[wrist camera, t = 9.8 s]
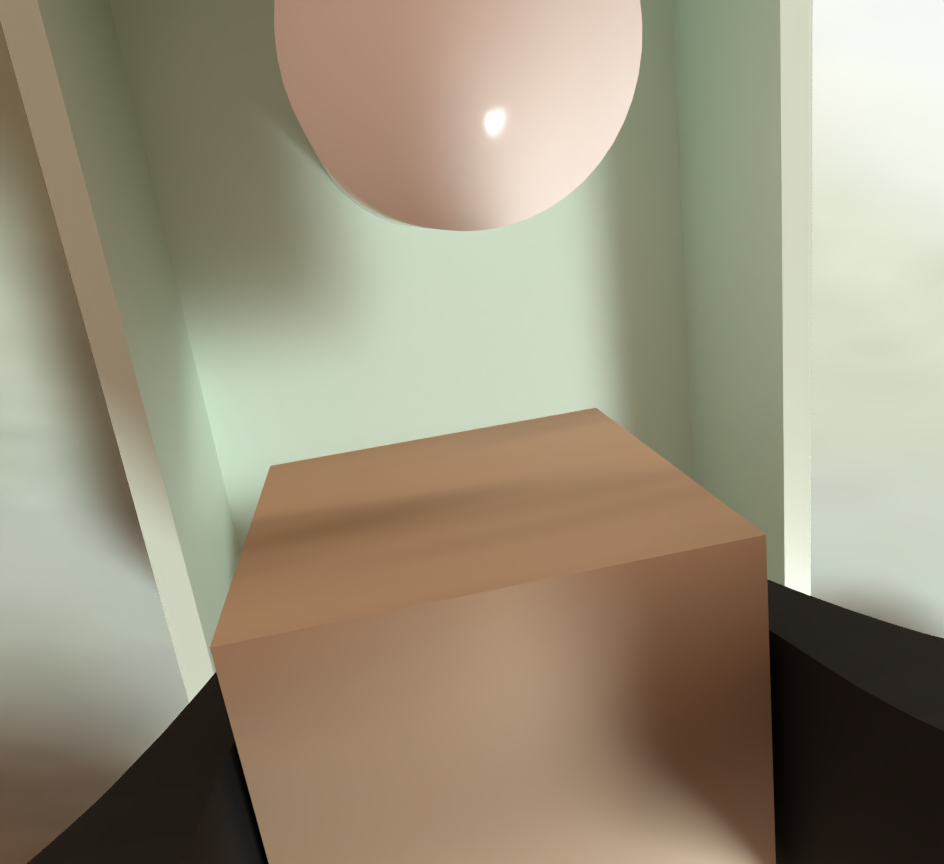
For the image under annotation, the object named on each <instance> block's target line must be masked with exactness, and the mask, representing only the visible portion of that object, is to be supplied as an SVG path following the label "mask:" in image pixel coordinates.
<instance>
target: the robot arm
mask: <svg viewBox="0 0 944 864" xmlns="http://www.w3.org/2000/svg"><path fill="white" fill-rule="evenodd" d="M767 583H768V617H769V651H770V685H771V718H772V752H773V786H774V820H775V853H776V864H944V639H943V638H939V637H935V636H931V635H928V634H924V633H920V632H917V631H913V630H910V629H907V628H903V627H900V626H897V625H893V624H890V623H887V622H884V621H881V620H878V619H875V618H872V617H869V616H866V615H863V614H860V613H857V612H854V611H851V610H848V609H845V608H842V607H839V606H837V605H834V604H831V603H828V602H826V601H823V600H820V599H817V598H815V597H812V596H809V595H807V594H804V593H801V592H799V591H796V590H794V589H791V588H789V587H786V586H783V585H781V584H778V583H776V582H773V581H771V580H768V579H767ZM27 864H269V863H268V859H267V856H266V852H265V848H264V845H263V841H262V837H261V834H260V830H259V826H258V823H257V819H256V815H255V812H254V808H253V804H252V801H251V797H250V793H249V790H248V786H247V782H246V779H245V775H244V771H243V768H242V764H241V760H240V757H239V753H238V749H237V746H236V742H235V738H234V735H233V731H232V728H231V724H230V720H229V717H228V713H227V709H226V706H225V702H224V698H223V695H222V691H221V687H220V684H219V680H218V676H217V673H216V672H215V673H214V675H213V676H212V677H211V678H210V679H209V681H208V682H207V683H206V684H205V685H204V686H203V688H202V689H201V690H200V691H199V692H198V693H197V695H196V696H195V697H194V698H193V699H192V700H191V702H190V703H189V704H188V705H187V706H186V707H185V709H184V710H183V711H182V712H181V713H180V714H179V715H178V717H177V718H176V719H175V720H174V721H173V722H172V724H171V725H170V726H169V727H168V728H167V729H166V730H165V731H164V733H163V734H162V735H161V736H160V737H159V738H158V739H157V740H156V741H155V742H154V743H153V744H152V745H151V746H150V747H149V748H148V749H147V750H146V751H145V752H144V753H143V755H142V756H141V757H140V758H139V759H138V760H137V761H136V762H135V763H134V764H133V765H132V766H131V767H130V768H129V769H128V770H127V771H126V772H125V773H124V774H123V775H122V777H121V778H120V779H119V780H118V781H117V782H116V783H115V784H114V785H113V786H112V787H111V788H110V789H109V790H108V791H107V792H106V793H105V794H104V795H103V796H102V797H101V798H100V799H99V800H98V801H97V802H96V803H94V804H93V805H92V806H91V807H90V808H89V809H88V810H87V811H86V812H85V813H84V814H83V815H82V816H81V817H79V818H78V819H77V820H76V821H75V822H74V823H73V824H72V825H71V826H69V827H68V828H67V829H66V830H65V831H64V832H63V833H62V834H60V835H59V836H58V837H57V838H56V839H55V840H54V841H52V842H51V843H50V844H49V845H48V846H47V847H46V848H45V849H43V850H42V851H41V852H40V853H39V854H38V855H37V856H35V857H34V858H33V859H32V860H31V861H29V862H28V863H27Z"/></svg>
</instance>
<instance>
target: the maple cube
mask: <svg viewBox="0 0 944 864" xmlns="http://www.w3.org/2000/svg"><path fill="white" fill-rule="evenodd" d="M210 651H211V654H212V658H213V662H214V665H215V669H216V673H217V676H218V680H219V684H220V687H221V691H222V695H223V698H224V702H225V706H226V709H227V713H228V717H229V720H230V724H231V728H232V731H233V735H234V738H235V742H236V746H237V749H238V753H239V757H240V760H241V764H242V768H243V771H244V775H245V779H246V782H247V786H248V790H249V793H250V797H251V801H252V804H253V808H254V812H255V815H256V819H257V823H258V826H259V830H260V834H261V837H262V841H263V845H264V848H265V852H266V856H267V859H268V863H269V864H776V853H775V820H774V786H773V752H772V718H771V685H770V651H769V617H768V583H767V550H766V534H765V533H763V532H762V531H761V530H759V529H758V528H757V527H755V526H754V525H753V524H751V523H750V522H749V521H747V520H746V519H745V518H743V517H742V516H741V515H739V514H738V513H737V512H735V511H734V510H732V509H731V508H730V507H728V506H727V505H726V504H724V503H723V502H722V501H720V500H719V499H718V498H716V497H715V496H714V495H712V494H711V493H710V492H708V491H707V490H706V489H704V488H703V487H702V486H700V485H699V484H698V483H696V482H695V481H694V480H692V479H691V478H690V477H688V476H687V475H686V474H684V473H683V472H682V471H680V470H679V469H678V468H676V467H675V466H674V465H672V464H671V463H670V462H668V461H667V460H666V459H664V458H663V457H661V456H660V455H659V454H657V453H656V452H655V451H653V450H652V449H651V448H649V447H648V446H647V445H645V444H644V443H643V442H641V441H640V440H639V439H637V438H636V437H635V436H633V435H632V434H631V433H629V432H628V431H627V430H625V429H624V428H623V427H621V426H620V425H619V424H617V423H616V422H615V421H613V420H612V419H611V418H609V417H608V416H607V415H605V414H604V413H603V412H601V411H600V410H599V409H597V408H591V409H585V410H580V411H574V412H569V413H563V414H557V415H552V416H546V417H541V418H535V419H529V420H524V421H518V422H513V423H507V424H501V425H496V426H490V427H485V428H479V429H473V430H468V431H462V432H457V433H451V434H445V435H440V436H434V437H429V438H423V439H417V440H412V441H406V442H401V443H395V444H389V445H384V446H378V447H373V448H367V449H362V450H356V451H350V452H345V453H339V454H334V455H328V456H322V457H317V458H311V459H306V460H300V461H294V462H289V463H283V464H278V465H272V466H270V468H269V471H268V474H267V477H266V480H265V483H264V486H263V489H262V492H261V495H260V498H259V501H258V504H257V507H256V510H255V513H254V516H253V519H252V522H251V525H250V528H249V531H248V534H247V537H246V540H245V543H244V546H243V549H242V552H241V555H240V558H239V561H238V564H237V567H236V570H235V573H234V576H233V579H232V582H231V585H230V588H229V591H228V594H227V597H226V600H225V603H224V606H223V609H222V612H221V615H220V618H219V621H218V624H217V627H216V630H215V633H214V636H213V639H212V642H211V645H210Z"/></svg>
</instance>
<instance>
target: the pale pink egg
mask: <svg viewBox="0 0 944 864" xmlns="http://www.w3.org/2000/svg"><path fill="white" fill-rule="evenodd" d="M274 33H275V42H276V52H277V59H278V63H279V67H280V72H281V76H282V80H283V84H284V87H285V90H286V92H287V95H288V98H289V101H290V103H291V106H292V109H293V111H294V113H295V115H296V117H297V119H298V121H299V123H300V125H301V127H302V129H303V131H304V133H305V135H306V137H307V138H308V140H309V142H310V144H311V146H312V147H313V149H314V151H315V153H316V155H317V156H318V158H319V160H320V162H321V164H322V165H323V167H324V169H325V170H326V172H327V173H328V175H329V176H330V178H331V179H332V181H333V182H334V183H335V184H336V185H337V187H338V188H339V189H340V190H341V191H342V192H343V193H344V194H345V195H346V196H347V197H348V198H349V199H350V200H351V201H353V202H354V203H355V204H356V205H358V206H359V207H361V208H362V209H364V210H365V211H367V212H369V213H370V214H372V215H374V216H376V217H378V218H380V219H383V220H386V221H389V222H391V223H395V224H400V225H404V226H411V227H421V228H430V229H440V230H452V231H479V230H489V229H494V228H499V227H504V226H508V225H511V224H514V223H517V222H520V221H523V220H526V219H529V218H531V217H533V216H535V215H537V214H539V213H541V212H543V211H545V210H547V209H549V208H550V207H551V206H553V205H554V204H556V203H557V202H559V201H560V200H562V199H563V198H565V197H566V196H568V195H569V194H570V193H571V192H572V191H573V190H574V189H575V188H577V187H578V186H579V185H580V184H581V183H582V182H583V181H584V180H585V179H586V178H587V177H588V176H589V175H590V174H591V172H592V171H593V170H594V169H595V168H596V167H597V166H598V164H599V163H600V162H601V160H602V159H603V157H604V156H605V155H606V153H607V152H608V150H609V149H610V147H611V146H612V144H613V143H614V141H615V139H616V137H617V135H618V133H619V131H620V129H621V127H622V125H623V123H624V121H625V118H626V115H627V113H628V110H629V107H630V105H631V102H632V99H633V96H634V92H635V87H636V83H637V79H638V75H639V68H640V60H641V53H642V15H641V5H640V0H274Z"/></svg>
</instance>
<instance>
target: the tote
mask: <svg viewBox="0 0 944 864" xmlns="http://www.w3.org/2000/svg"><path fill="white" fill-rule="evenodd" d="M640 5H641V15H642V53H641V60H640V68H639V75H638V79H637V83H636V87H635V92H634V96H633V99H632V102H631V105H630V107H629V110H628V113H627V115H626V118H625V121H624V123H623V125H622V127H621V129H620V131H619V133H618V135H617V137H616V139H615V141H614V143H613V144H612V146H611V147H610V149H609V150H608V152H607V153H606V155H605V156H604V157H603V159H602V160H601V162H600V163H599V164H598V166H597V167H596V168H595V169H594V170H593V171H592V172H591V174H590V175H589V176H588V177H587V178H586V179H585V180H584V181H583V182H582V183H581V184H580V185H579V186H578V187H577V188H575V189H574V190H573V191H572V192H571V193H570V194H569V195H568V196H566V197H565V198H563V199H562V200H560V201H559V202H557V203H556V204H554V205H553V206H551V207H550V208H549V209H547V210H545V211H543V212H541V213H539V214H537V215H535V216H533V217H531V218H529V219H526V220H523V221H520V222H517V223H514V224H511V225H508V226H504V227H499V228H494V229H489V230H479V231H452V230H440V229H430V228H421V227H411V226H404V225H400V224H395V223H391V222H389V221H386V220H383V219H380V218H378V217H376V216H374V215H372V214H370V213H369V212H367V211H365V210H364V209H362V208H361V207H359V206H358V205H356V204H355V203H354V202H353V201H351V200H350V199H349V198H348V197H347V196H346V195H345V194H344V193H343V192H342V191H341V190H340V189H339V188H338V187H337V185H336V184H335V183H334V182H333V181H332V179H331V178H330V176H329V175H328V173H327V172H326V170H325V169H324V167H323V165H322V164H321V162H320V160H319V158H318V156H317V155H316V153H315V151H314V149H313V147H312V146H311V144H310V142H309V140H308V138H307V137H306V135H305V133H304V131H303V129H302V127H301V125H300V123H299V121H298V119H297V117H296V115H295V113H294V111H293V109H292V106H291V103H290V101H289V98H288V95H287V92H286V90H285V87H284V84H283V80H282V76H281V72H280V67H279V63H278V59H277V52H276V42H275V33H274V0H0V22H1V25H2V29H3V33H4V36H5V40H6V43H7V47H8V51H9V54H10V58H11V61H12V65H13V69H14V72H15V76H16V80H17V83H18V87H19V90H20V94H21V98H22V101H23V105H24V108H25V112H26V116H27V119H28V123H29V126H30V130H31V134H32V137H33V141H34V145H35V148H36V152H37V155H38V159H39V163H40V166H41V170H42V173H43V177H44V181H45V184H46V188H47V191H48V195H49V199H50V202H51V206H52V210H53V213H54V217H55V220H56V224H57V228H58V231H59V235H60V238H61V242H62V246H63V249H64V253H65V256H66V260H67V264H68V267H69V271H70V275H71V278H72V282H73V285H74V289H75V293H76V296H77V300H78V303H79V307H80V311H81V314H82V318H83V321H84V325H85V329H86V332H87V336H88V340H89V343H90V347H91V350H92V354H93V358H94V361H95V365H96V368H97V372H98V376H99V379H100V383H101V386H102V390H103V394H104V397H105V401H106V404H107V408H108V412H109V415H110V419H111V423H112V426H113V430H114V433H115V437H116V441H117V444H118V448H119V451H120V455H121V459H122V462H123V466H124V469H125V473H126V477H127V480H128V484H129V488H130V491H131V495H132V498H133V502H134V506H135V509H136V513H137V516H138V520H139V524H140V527H141V531H142V534H143V538H144V542H145V545H146V549H147V553H148V556H149V560H150V563H151V567H152V571H153V574H154V578H155V581H156V585H157V589H158V592H159V596H160V599H161V603H162V607H163V610H164V614H165V618H166V621H167V625H168V628H169V632H170V636H171V639H172V643H173V646H174V650H175V654H176V657H177V661H178V664H179V668H180V672H181V675H182V679H183V682H184V686H185V690H186V693H187V697H188V701H189V703H190V702H191V700H192V699H193V698H194V697H195V696H196V695H197V693H198V692H199V691H200V690H201V689H202V688H203V686H204V685H205V684H206V683H207V682H208V681H209V679H210V678H211V677H212V676H213V675H214V673H215V672H216V669H215V665H214V662H213V658H212V654H211V651H210V645H211V642H212V639H213V636H214V633H215V630H216V627H217V624H218V621H219V618H220V615H221V612H222V609H223V606H224V603H225V600H226V597H227V594H228V591H229V588H230V585H231V582H232V579H233V576H234V573H235V570H236V567H237V564H238V561H239V558H240V555H241V552H242V549H243V546H244V543H245V540H246V537H247V534H248V531H249V528H250V525H251V522H252V519H253V516H254V513H255V510H256V507H257V504H258V501H259V498H260V495H261V492H262V489H263V486H264V483H265V480H266V477H267V474H268V471H269V468H270V466H272V465H278V464H283V463H289V462H294V461H300V460H306V459H311V458H317V457H322V456H328V455H334V454H339V453H345V452H350V451H356V450H362V449H367V448H373V447H378V446H384V445H389V444H395V443H401V442H406V441H412V440H417V439H423V438H429V437H434V436H440V435H445V434H451V433H457V432H462V431H468V430H473V429H479V428H485V427H490V426H496V425H501V424H507V423H513V422H518V421H524V420H529V419H535V418H541V417H546V416H552V415H557V414H563V413H569V412H574V411H580V410H585V409H591V408H597V409H599V410H600V411H601V412H603V413H604V414H605V415H607V416H608V417H609V418H611V419H612V420H613V421H615V422H616V423H617V424H619V425H620V426H621V427H623V428H624V429H625V430H627V431H628V432H629V433H631V434H632V435H633V436H635V437H636V438H637V439H639V440H640V441H641V442H643V443H644V444H645V445H647V446H648V447H649V448H651V449H652V450H653V451H655V452H656V453H657V454H659V455H660V456H661V457H663V458H664V459H666V460H667V461H668V462H670V463H671V464H672V465H674V466H675V467H676V468H678V469H679V470H680V471H682V472H683V473H684V474H686V475H687V476H688V477H690V478H691V479H692V480H694V481H695V482H696V483H698V484H699V485H700V486H702V487H703V488H704V489H706V490H707V491H708V492H710V493H711V494H712V495H714V496H715V497H716V498H718V499H719V500H720V501H722V502H723V503H724V504H726V505H727V506H728V507H730V508H731V509H732V510H734V511H735V512H737V513H738V514H739V515H741V516H742V517H743V518H745V519H746V520H747V521H749V522H750V523H751V524H753V525H754V526H755V527H757V528H758V529H759V530H761V531H762V532H763V533H765V534H766V550H767V579H768V580H771V581H773V582H776V583H778V584H781V585H783V586H786V587H789V588H791V589H794V590H796V591H799V592H801V593H804V594H807V595H809V596H811V285H812V0H640Z"/></svg>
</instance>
